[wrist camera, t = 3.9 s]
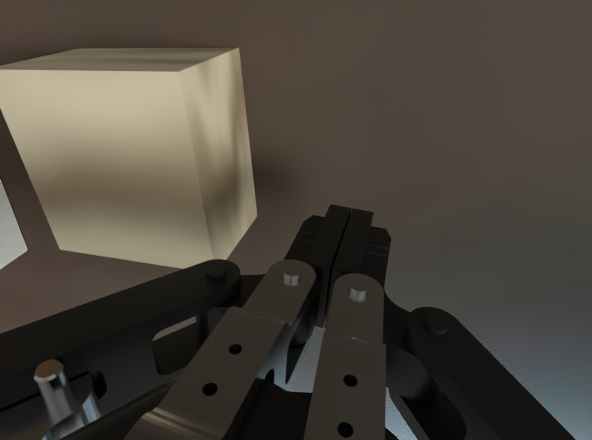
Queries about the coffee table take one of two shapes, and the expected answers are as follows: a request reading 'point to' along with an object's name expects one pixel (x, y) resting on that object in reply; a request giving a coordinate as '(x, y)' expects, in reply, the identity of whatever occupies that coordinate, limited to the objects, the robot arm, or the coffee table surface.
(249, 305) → the robot arm
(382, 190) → the coffee table surface
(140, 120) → the maple block
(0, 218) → the board
